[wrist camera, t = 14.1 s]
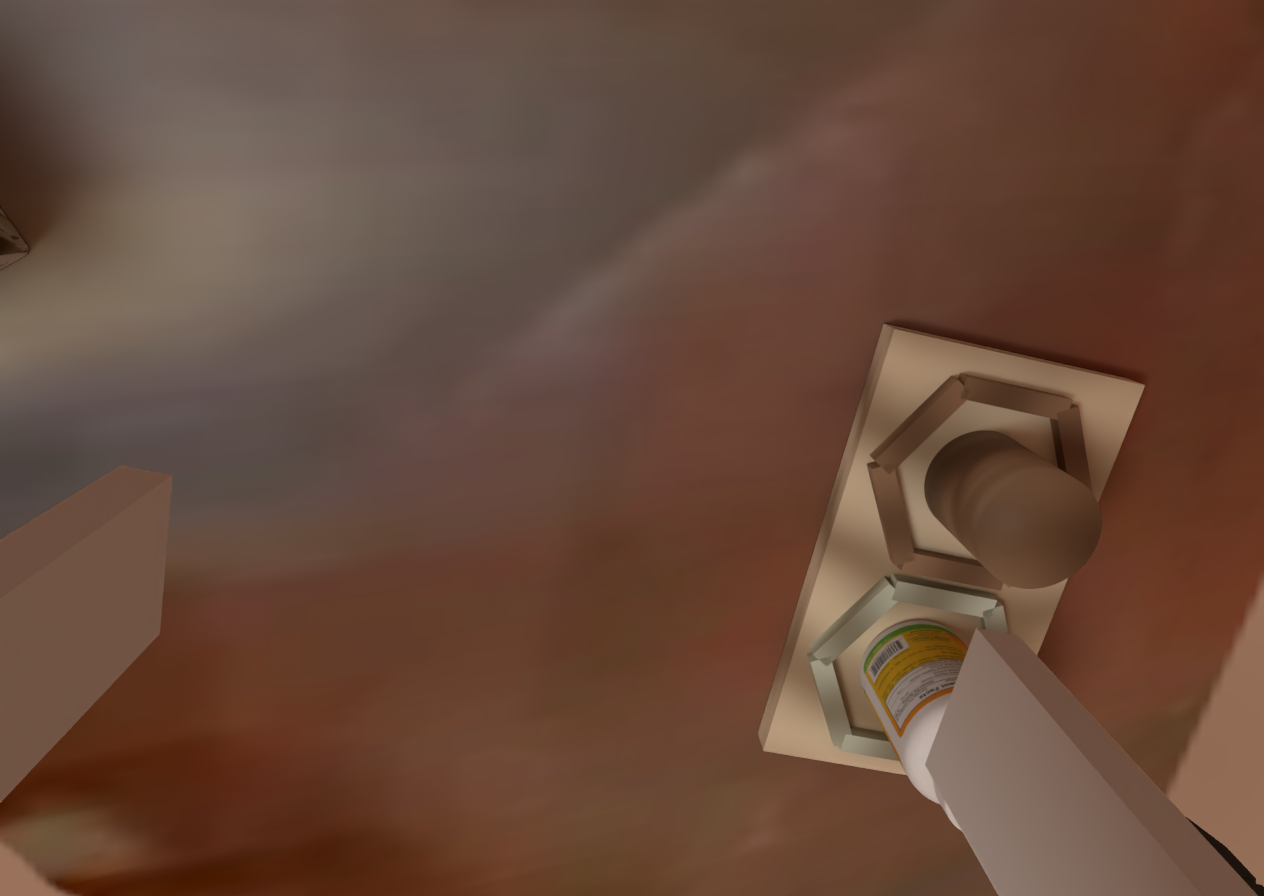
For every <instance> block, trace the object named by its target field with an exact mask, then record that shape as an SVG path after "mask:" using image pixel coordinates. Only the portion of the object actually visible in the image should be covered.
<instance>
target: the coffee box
mask: <svg viewBox="0 0 1264 896" xmlns="http://www.w3.org/2000/svg"><path fill="white" fill-rule="evenodd" d="M26 254H28V246H27V245H26V243H25V242H24V240H23V239H22V238H21V236H20V235H19V233H18V232H17V231H16V229H15V228H14V226H13V225H12V224H11V222H10V221H9V219H8V218H7V217H6V215H5V214H4V212H3V211H2V210H1V208H0V270H1V269H2V268H4V267H6V266H8V265H10V264H11V263H13V262H15V261H17V260H18V259H20V258H22V257H24V256H25V255H26Z"/></svg>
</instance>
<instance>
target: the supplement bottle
mask: <svg viewBox="0 0 1264 896" xmlns="http://www.w3.org/2000/svg"><path fill="white" fill-rule="evenodd" d="M967 651H968V648H967V646H966V645H965V644H964V643H963V642H962V640H961V639H960V638H959V637H958V636H957V635H956V634H955V633H954V632H953V631H951V630H950V629H948V628H947V627H945V626H943V625H940V624H938V623H935V622H930V621H921V620H915V621H908V622H903V623H900V624H897V625H895V626H893V627H891V628H889V629H887V630H886V631H884V632H882V633H881V634H880V635H879V636H877V637H876V638H875V639H874V640H873V642H872V643H871V644H870V645H869V647H868V648H867V650H866V652H865V654H864V656H863V659H862V662H861V667H860V679H861V685H862V688H863V691H864V693H865V695H866V697H867V699H868V701H869V703H870V705H871V707H872V709H873V711H874V713H875V715H876V716H877V718H878V720H879V722H880V724H881V726H882V728H883V730H884V732H885V734H886V736H887V738H888V740H889V742H890V743H891V745H892V747H893V749H894V751H895V753H896V755H897V757H898V759H899V761H900V763H901V765H902V767H903V769H904V771H905V773H906V774H907V776H908V778H909V779H910V781H911V782H912V784H913V785H914V786H915V787H916V789H917V790H918V791H919V792H920V793H922V794H923V795H924V796H925V797H927V798H928V799H930V800H932V801H934V802H936V803H938V804H941V806H942V807H943V809H944V811H945V812H946V814H947V816H948V818H949V819H950V821H951V822H952V823H953V824H954V825H955V826H956V827H957V828H958V829H959V830H961V828H960V826H959V825H958V823H957V821H956V819H955V817H954V816H953V814H952V812H951V810H950V808H949V807H948V805H947V803H946V801H945V800H944V798H943V796H942V794H941V792H940V791H939V789H938V787H937V785H936V784H935V782H934V780H933V778H932V776H931V775H930V773H929V771H928V769H927V768H926V766H925V763H926V760H927V758H928V755H929V752H930V750H931V747H932V744H933V742H934V739H935V736H936V734H937V731H938V728H939V726H940V723H941V720H942V718H943V715H944V712H945V710H946V707H947V704H948V701H949V699H950V696H951V693H952V691H953V688H954V685H955V683H956V680H957V677H958V675H959V672H960V669H961V667H962V664H963V661H964V659H965V656H966V653H967ZM961 831H962V830H961Z"/></svg>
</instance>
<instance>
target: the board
mask: <svg viewBox="0 0 1264 896" xmlns="http://www.w3.org/2000/svg"><path fill="white" fill-rule="evenodd" d="M1144 387H1145V385H1143V384H1141V383H1138V382H1135V381H1133V380H1130V379H1127V378H1124V377H1119V376H1115V375H1111V374H1106V373H1102V372H1097V371H1093V370H1088V369H1084V368H1079V367H1075V366H1071V365H1066V364H1062V363H1057V362H1053V361H1048V360H1044V359H1039V358H1035V357H1031V356H1026V355H1022V354H1017V353H1013V352H1008V351H1004V350H1000V349H995V348H991V347H986V346H982V345H977V344H973V343H968V342H964V341H960V340H955V339H951V338H946V337H942V336H937V335H933V334H928V333H924V332H920V331H915V330H911V329H906V328H902V327H897V326H893V325H888V324H883V327H882V331H881V334H880V337H879V340H878V344H877V347H876V350H875V353H874V357H873V360H872V363H871V366H870V370H869V373H868V376H867V379H866V383H865V386H864V389H863V392H862V396H861V399H860V402H859V405H858V409H857V412H856V415H855V419H854V422H853V425H852V428H851V432H850V435H849V438H848V441H847V445H846V448H845V451H844V454H843V458H842V461H841V464H840V467H839V471H838V474H837V477H836V480H835V484H834V487H833V490H832V493H831V497H830V500H829V503H828V506H827V510H826V513H825V516H824V519H823V523H822V526H821V529H820V532H819V536H818V539H817V542H816V545H815V549H814V552H813V555H812V559H811V562H810V565H809V568H808V572H807V575H806V578H805V581H804V585H803V588H802V591H801V594H800V598H799V601H798V604H797V607H796V611H795V614H794V617H793V620H792V624H791V627H790V630H789V633H788V637H787V640H786V643H785V646H784V650H783V653H782V656H781V659H780V663H779V666H778V669H777V672H776V676H775V679H774V682H773V685H772V689H771V692H770V695H769V698H768V702H767V705H766V708H765V712H764V715H763V718H762V721H761V725H760V728H759V731H758V735H759V738H760V742H761V745H762V749H763V751H767V752H773V753H779V754H785V755H791V756H797V757H803V758H809V759H815V760H821V761H826V762H832V763H838V764H844V765H850V766H856V767H862V768H868V769H874V770H880V771H885V772H891V773H897V774H903V775H907V774H906V773H905V771H904V769H903V767H902V765H901V763H900V761H899V759H898V757H897V755H896V753H895V751H894V749H893V747H892V745H891V743H890V742H889V740H888V738H887V736H886V734H885V732H884V730H883V728H882V726H881V724H880V722H879V720H878V718H877V716H876V715H875V713H874V711H873V709H872V707H871V705H870V703H869V701H868V699H867V697H866V695H865V693H864V691H863V688H862V685H861V679H860V667H861V662H862V659H863V656H864V654H865V652H866V650H867V648H868V647H869V645H870V644H871V643H872V642H873V640H874V639H875V638H876V637H877V636H879V635H880V634H881V633H882V632H884V631H886V630H887V629H889V628H891V627H893V626H895V625H897V624H900V623H903V622H908V621H915V620H921V621H930V622H935V623H938V624H940V625H943V626H945V627H947V628H948V629H950V630H951V631H953V632H954V633H955V634H956V635H957V636H958V637H959V638H960V639H961V640H962V642H963V643H964V644H965V645H966V646H967V648H969V645H970V643H971V640H972V637H973V635H974V632H975V629H976V628H981V629H986V630H991V631H997V632H1002V633H1007V634H1012V635H1018V636H1019V637H1020V638H1021V639H1022V640H1023V641H1024V642H1025V643H1026V644H1027V645H1028V647H1029V648H1030V649H1031V650H1032V651H1033V652H1034V653H1035V654H1036V655H1038V652H1039V650H1040V647H1041V645H1042V642H1043V640H1044V637H1045V635H1046V632H1047V630H1048V627H1049V625H1050V622H1051V620H1052V617H1053V615H1054V612H1055V610H1056V607H1057V605H1058V602H1059V600H1060V597H1061V595H1062V592H1063V590H1064V587H1065V585H1066V582H1067V580H1068V578H1067V579H1065V580H1063V581H1061V582H1059V583H1057V584H1054V585H1052V586H1048V587H1044V588H1038V589H1022V588H1016V587H1013V586H1010V585H1007V584H1005V583H1003V582H1001V581H1000V580H998V579H997V578H995V577H994V576H993V575H992V574H991V573H990V572H989V571H988V570H987V569H986V568H985V567H984V566H983V565H982V564H981V563H980V562H979V561H978V560H977V559H976V558H975V557H974V556H973V555H972V554H971V553H970V552H969V551H968V550H967V549H966V548H965V547H964V546H963V545H962V544H961V543H960V542H959V541H958V540H957V539H956V538H955V537H954V536H953V535H952V534H951V533H950V532H949V531H948V530H947V529H946V528H945V527H944V526H943V525H942V524H941V523H940V522H939V521H938V520H937V519H936V518H935V517H934V515H933V514H932V513H931V511H930V510H929V507H928V505H927V503H926V499H925V494H924V482H925V476H926V473H927V470H928V467H929V465H930V463H931V461H932V460H933V458H934V457H935V455H936V454H937V453H938V452H939V451H940V450H941V449H942V447H944V446H945V445H946V444H947V443H949V442H950V441H952V440H953V439H955V438H957V437H959V436H961V435H963V434H966V433H969V432H974V431H981V430H985V431H995V432H999V433H1002V434H1004V435H1007V436H1009V437H1010V438H1012V439H1013V440H1015V441H1017V442H1018V443H1020V444H1021V445H1023V446H1024V447H1026V448H1028V449H1029V450H1031V451H1032V452H1034V453H1036V454H1037V455H1039V456H1040V457H1042V458H1043V459H1045V460H1047V461H1048V462H1050V463H1051V464H1053V465H1054V466H1056V467H1058V468H1059V469H1061V470H1062V471H1064V472H1066V473H1067V474H1069V475H1070V476H1072V477H1073V478H1075V479H1077V480H1078V481H1080V482H1081V483H1083V484H1084V485H1085V486H1086V487H1087V488H1088V489H1089V490H1090V491H1091V492H1092V493H1093V495H1094V496H1095V498H1096V500H1097V502H1099V500H1100V497H1101V495H1102V492H1103V490H1104V487H1105V485H1106V482H1107V480H1108V477H1109V475H1110V472H1111V470H1112V467H1113V465H1114V462H1115V460H1116V457H1117V455H1118V452H1119V450H1120V447H1121V445H1122V442H1123V440H1124V437H1125V435H1126V432H1127V429H1128V427H1129V424H1130V422H1131V419H1132V417H1133V414H1134V412H1135V409H1136V407H1137V404H1138V402H1139V399H1140V397H1141V394H1142V392H1143V389H1144Z"/></svg>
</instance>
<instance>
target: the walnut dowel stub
mask: <svg viewBox="0 0 1264 896" xmlns="http://www.w3.org/2000/svg"><path fill="white" fill-rule="evenodd" d="M924 494H925V499H926V503H927V505H928V507H929V510H930V511H931V513H932V514H933V515H934V517H935V518H936V519H937V520H938V521H939V522H940V523H941V524H942V525H943V526H944V527H945V528H946V529H947V530H948V531H949V532H950V533H951V534H952V535H953V536H954V537H955V538H956V539H957V540H958V541H959V542H960V543H961V544H962V545H963V546H964V547H965V548H966V549H967V550H968V551H969V552H970V553H971V554H972V555H973V556H974V557H975V558H976V559H977V560H978V561H979V562H980V563H981V564H982V565H983V566H984V567H985V568H986V569H987V570H988V571H989V572H990V573H991V574H992V575H993V576H994V577H995V578H997V579H998V580H1000V581H1001V582H1003V583H1005V584H1007V585H1010V586H1013V587H1016V588H1022V589H1038V588H1044V587H1048V586H1052V585H1054V584H1057V583H1059V582H1061V581H1063V580H1065V579H1067V578H1069V577H1070V576H1072V575H1073V574H1074V573H1076V572H1077V571H1078V570H1079V569H1080V568H1081V567H1082V566H1083V565H1084V564H1085V563H1086V562H1087V560H1088V559H1089V558H1090V556H1091V555H1092V553H1093V552H1094V550H1095V548H1096V546H1097V543H1098V540H1099V537H1100V533H1101V525H1102V519H1101V511H1100V507H1099V505H1098V502H1097V500H1096V498H1095V496H1094V495H1093V493H1092V492H1091V491H1090V490H1089V489H1088V488H1087V487H1086V486H1085V485H1084V484H1083V483H1081V482H1080V481H1078V480H1077V479H1075V478H1073V477H1072V476H1070V475H1069V474H1067V473H1066V472H1064V471H1062V470H1061V469H1059V468H1058V467H1056V466H1054V465H1053V464H1051V463H1050V462H1048V461H1047V460H1045V459H1043V458H1042V457H1040V456H1039V455H1037V454H1036V453H1034V452H1032V451H1031V450H1029V449H1028V448H1026V447H1024V446H1023V445H1021V444H1020V443H1018V442H1017V441H1015V440H1013V439H1012V438H1010V437H1009V436H1007V435H1004V434H1002V433H999V432H995V431H985V430H981V431H974V432H969V433H966V434H963V435H961V436H959V437H957V438H955V439H953V440H952V441H950V442H949V443H947V444H946V445H945V446H944V447H942V449H941V450H940V451H939V452H938V453H937V454H936V455H935V457H934V458H933V460H932V461H931V463H930V465H929V467H928V470H927V473H926V476H925V482H924Z"/></svg>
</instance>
